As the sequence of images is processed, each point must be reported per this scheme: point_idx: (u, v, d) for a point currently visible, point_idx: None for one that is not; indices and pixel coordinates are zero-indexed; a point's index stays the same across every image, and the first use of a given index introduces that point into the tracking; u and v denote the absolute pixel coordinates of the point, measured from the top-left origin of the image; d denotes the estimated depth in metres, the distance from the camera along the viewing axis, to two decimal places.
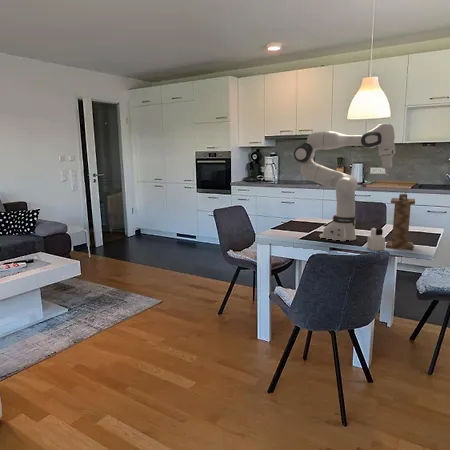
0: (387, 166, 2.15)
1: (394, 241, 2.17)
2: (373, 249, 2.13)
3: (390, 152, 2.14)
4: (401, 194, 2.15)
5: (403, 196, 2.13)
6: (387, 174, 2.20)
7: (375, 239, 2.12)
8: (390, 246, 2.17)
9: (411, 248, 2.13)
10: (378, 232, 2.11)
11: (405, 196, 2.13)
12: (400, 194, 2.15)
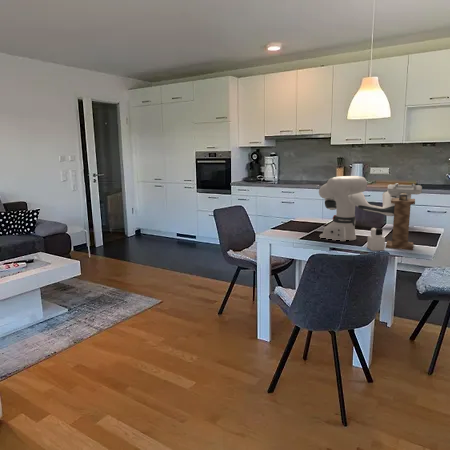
0: (388, 186, 2.54)
1: (394, 241, 2.17)
2: (373, 249, 2.13)
3: None
4: (401, 194, 2.15)
5: (403, 196, 2.13)
6: (395, 184, 2.48)
7: (375, 239, 2.12)
8: (390, 246, 2.17)
9: (411, 248, 2.13)
10: (378, 232, 2.11)
11: (405, 196, 2.13)
12: (400, 194, 2.15)
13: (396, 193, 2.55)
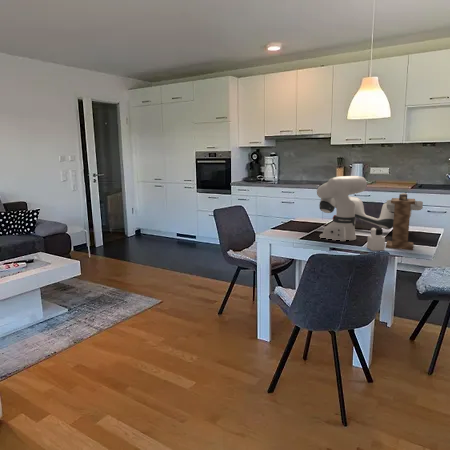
0: None
1: (394, 241, 2.17)
2: (373, 249, 2.13)
3: None
4: (401, 194, 2.15)
5: (403, 196, 2.13)
6: None
7: (375, 239, 2.12)
8: (390, 246, 2.17)
9: (411, 248, 2.13)
10: (378, 232, 2.11)
11: (405, 196, 2.13)
12: (400, 194, 2.15)
13: None
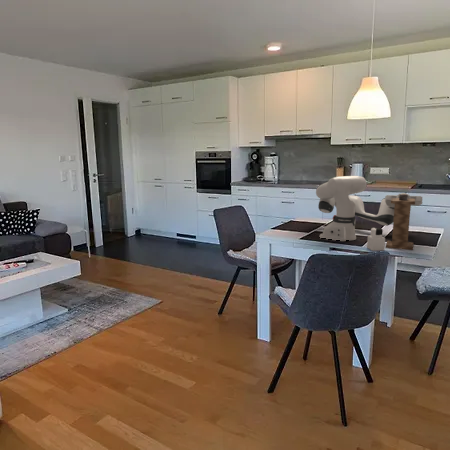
0: (385, 197, 2.33)
1: (394, 241, 2.17)
2: (373, 249, 2.13)
3: None
4: (401, 194, 2.15)
5: (403, 196, 2.13)
6: (398, 195, 2.26)
7: (375, 239, 2.12)
8: (390, 246, 2.17)
9: (411, 248, 2.13)
10: (378, 232, 2.11)
11: (405, 196, 2.13)
12: (400, 194, 2.15)
13: (394, 204, 2.35)
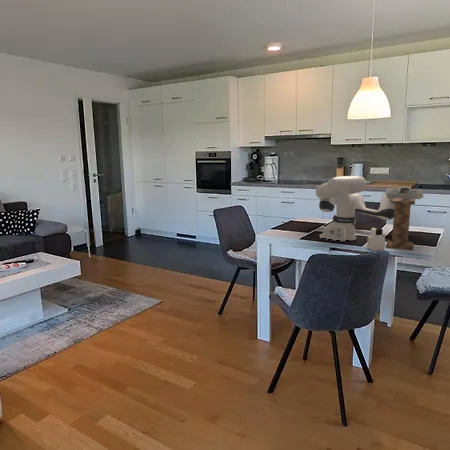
0: (386, 190, 2.34)
1: (394, 241, 2.17)
2: (373, 249, 2.13)
3: None
4: (402, 187, 2.15)
5: (404, 189, 2.14)
6: (399, 188, 2.27)
7: (375, 239, 2.12)
8: (390, 246, 2.17)
9: (411, 248, 2.13)
10: (378, 232, 2.11)
11: (406, 189, 2.13)
12: (401, 187, 2.15)
13: None
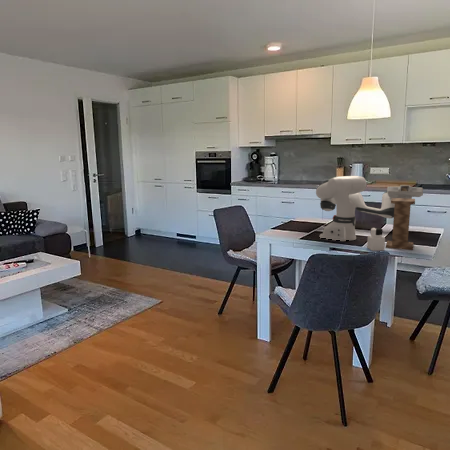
0: (387, 188, 2.43)
1: (394, 241, 2.17)
2: (373, 249, 2.13)
3: None
4: (403, 185, 2.25)
5: (405, 187, 2.23)
6: (400, 186, 2.36)
7: (375, 239, 2.12)
8: (390, 246, 2.17)
9: (411, 248, 2.13)
10: (378, 232, 2.11)
11: (406, 187, 2.23)
12: (402, 185, 2.25)
13: (396, 195, 2.45)
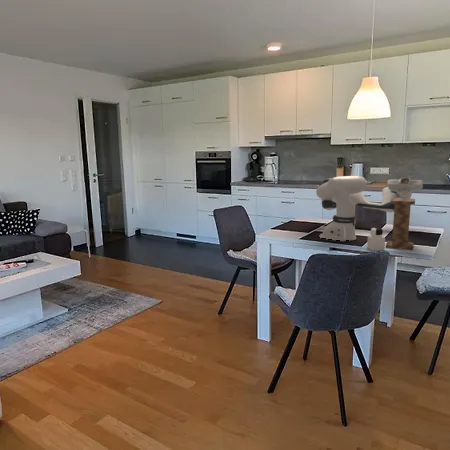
0: None
1: (394, 241, 2.17)
2: (373, 249, 2.13)
3: None
4: (403, 178, 2.27)
5: (405, 179, 2.26)
6: (400, 179, 2.39)
7: (375, 239, 2.12)
8: (390, 246, 2.17)
9: (411, 248, 2.13)
10: (378, 232, 2.11)
11: (407, 179, 2.25)
12: (402, 178, 2.27)
13: (396, 188, 2.47)
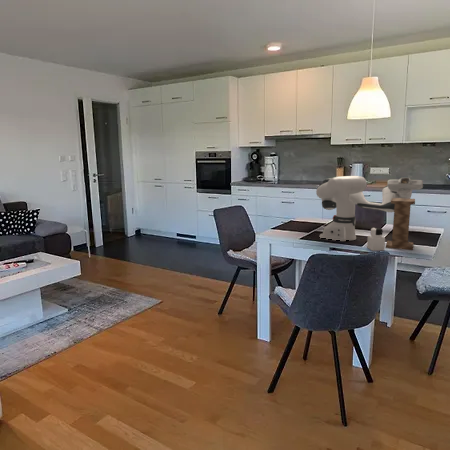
0: None
1: (394, 241, 2.17)
2: (373, 249, 2.13)
3: None
4: (403, 178, 2.27)
5: (405, 179, 2.26)
6: (400, 179, 2.39)
7: (375, 239, 2.12)
8: (390, 246, 2.17)
9: (411, 248, 2.13)
10: (378, 232, 2.11)
11: (407, 179, 2.25)
12: (402, 178, 2.27)
13: (396, 188, 2.47)
